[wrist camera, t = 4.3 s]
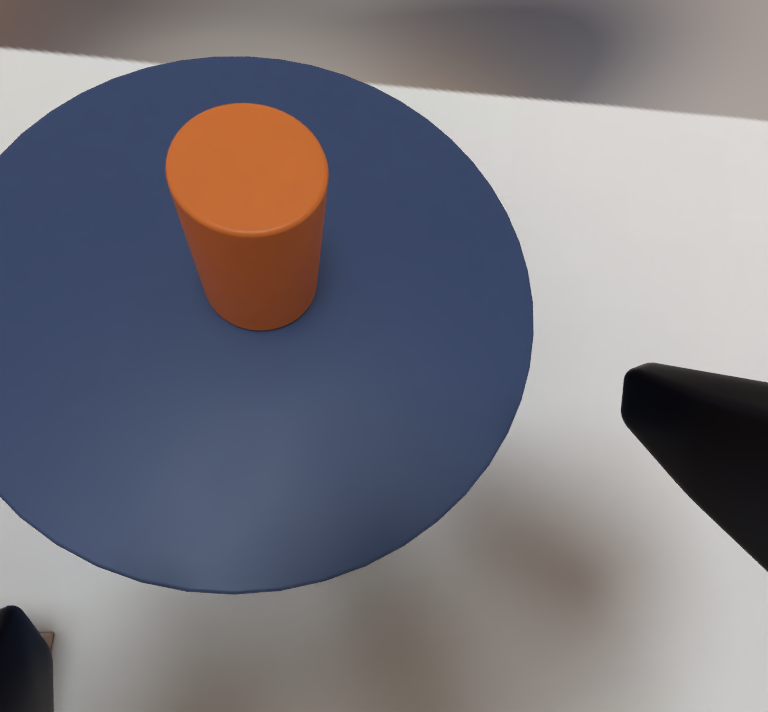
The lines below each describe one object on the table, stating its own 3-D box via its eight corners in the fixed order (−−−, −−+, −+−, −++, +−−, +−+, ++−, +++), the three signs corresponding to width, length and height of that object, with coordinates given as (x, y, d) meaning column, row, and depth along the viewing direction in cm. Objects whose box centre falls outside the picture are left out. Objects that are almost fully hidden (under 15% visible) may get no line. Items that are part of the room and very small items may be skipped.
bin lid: (500, 118, 18) (588, -55, 13) (537, 587, 13) (699, 620, 8) (31, 57, 16) (-98, -185, 11) (-121, 592, 11) (-489, 641, 6)
